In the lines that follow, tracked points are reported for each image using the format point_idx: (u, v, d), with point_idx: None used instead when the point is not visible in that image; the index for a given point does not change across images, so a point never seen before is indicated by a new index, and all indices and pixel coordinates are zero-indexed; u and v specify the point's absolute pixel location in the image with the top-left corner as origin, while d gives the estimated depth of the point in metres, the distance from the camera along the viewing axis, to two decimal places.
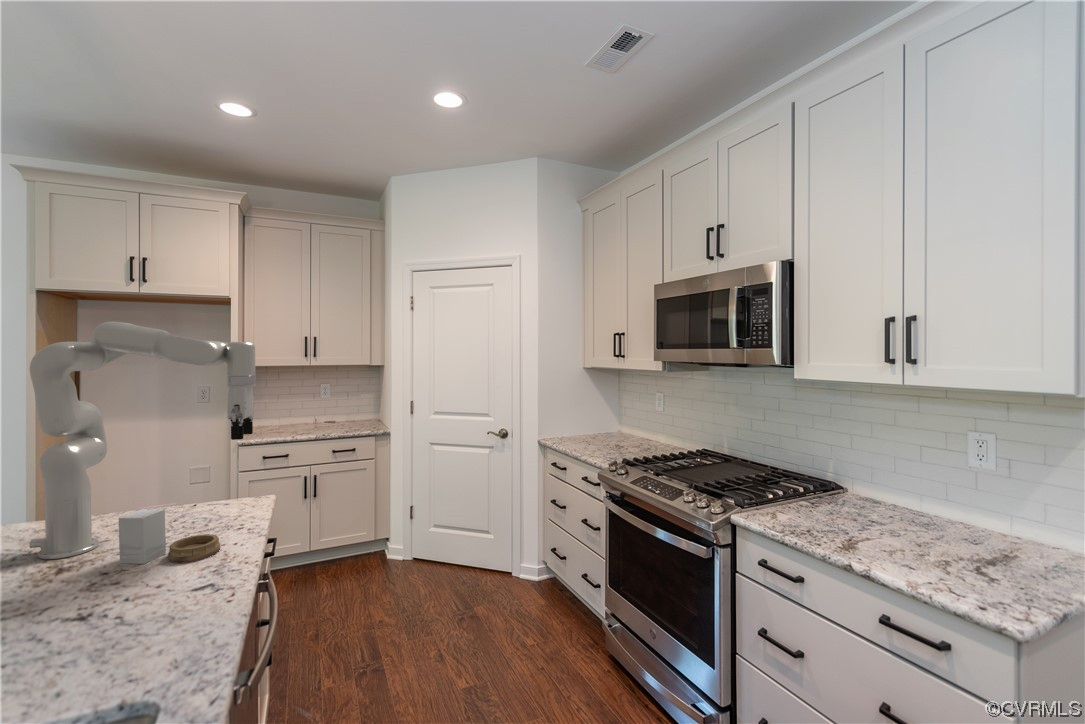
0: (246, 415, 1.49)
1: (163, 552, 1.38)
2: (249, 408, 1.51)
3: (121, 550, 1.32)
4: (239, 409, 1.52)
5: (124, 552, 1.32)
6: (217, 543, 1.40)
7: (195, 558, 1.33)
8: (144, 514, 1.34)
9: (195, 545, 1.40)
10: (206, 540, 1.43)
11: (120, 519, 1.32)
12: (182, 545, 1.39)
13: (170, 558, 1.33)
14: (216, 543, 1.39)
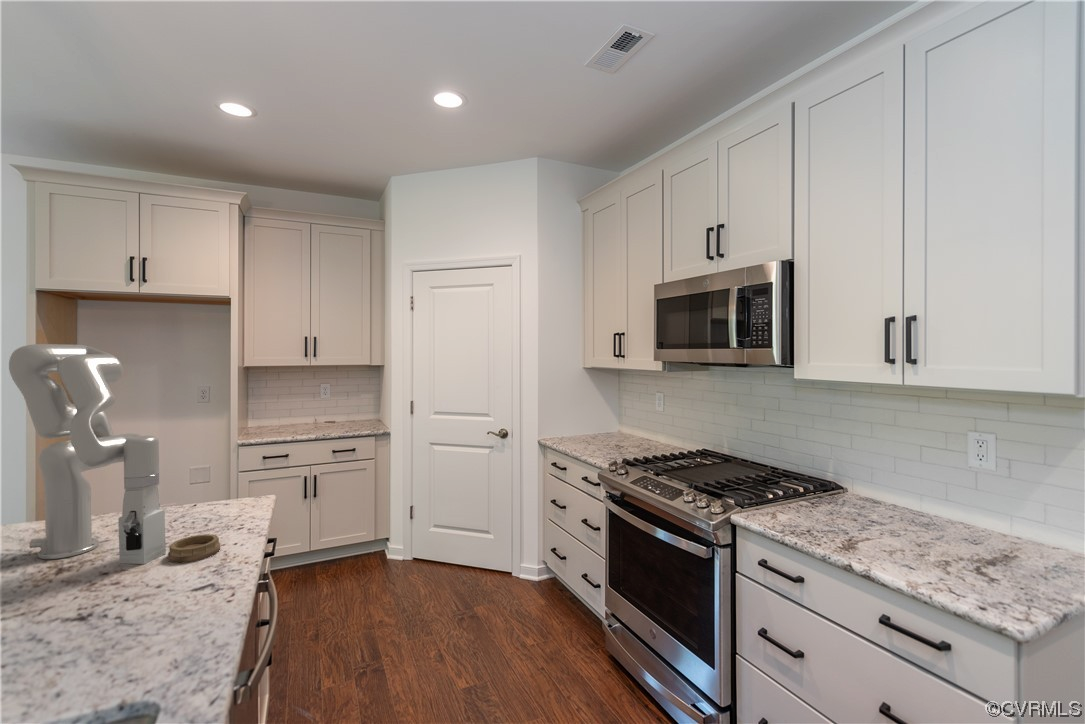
0: None
1: (163, 552, 1.38)
2: (150, 511, 1.35)
3: (121, 550, 1.32)
4: None
5: (124, 552, 1.32)
6: (217, 543, 1.40)
7: (195, 558, 1.33)
8: None
9: (195, 545, 1.40)
10: (206, 540, 1.43)
11: (120, 519, 1.32)
12: (182, 545, 1.39)
13: (170, 558, 1.33)
14: (216, 543, 1.39)
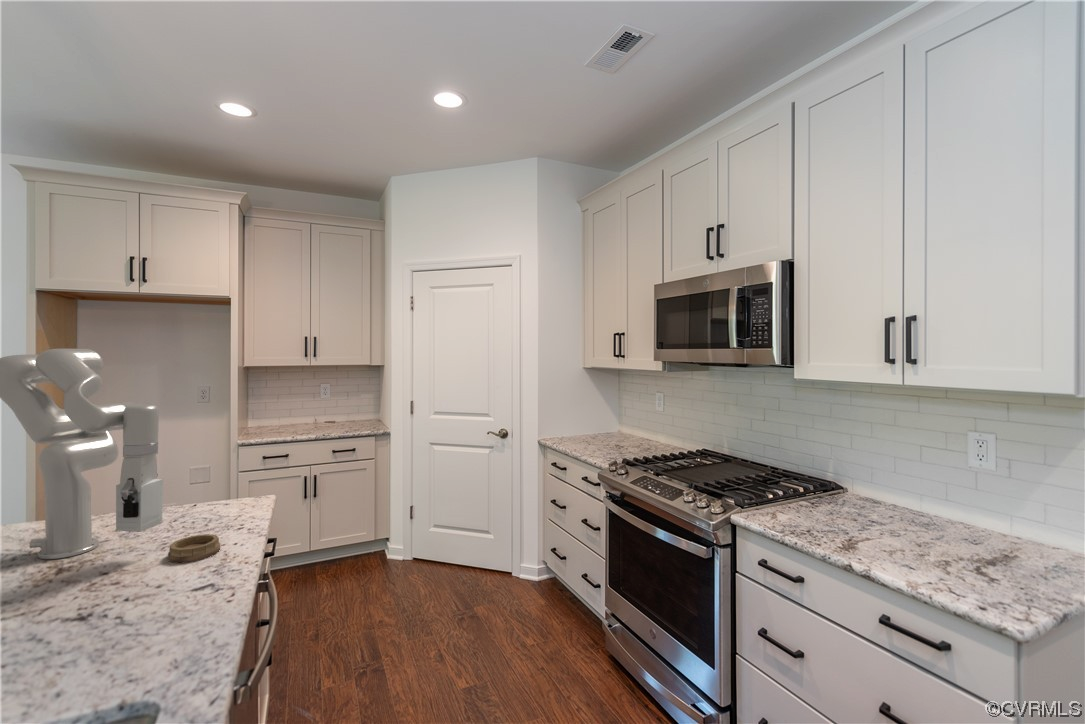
0: None
1: (160, 521, 1.38)
2: (148, 480, 1.35)
3: (118, 517, 1.32)
4: None
5: (121, 519, 1.32)
6: (217, 543, 1.40)
7: (195, 558, 1.33)
8: None
9: (195, 545, 1.40)
10: (206, 540, 1.43)
11: (118, 486, 1.32)
12: (182, 545, 1.39)
13: (170, 558, 1.33)
14: (216, 543, 1.39)
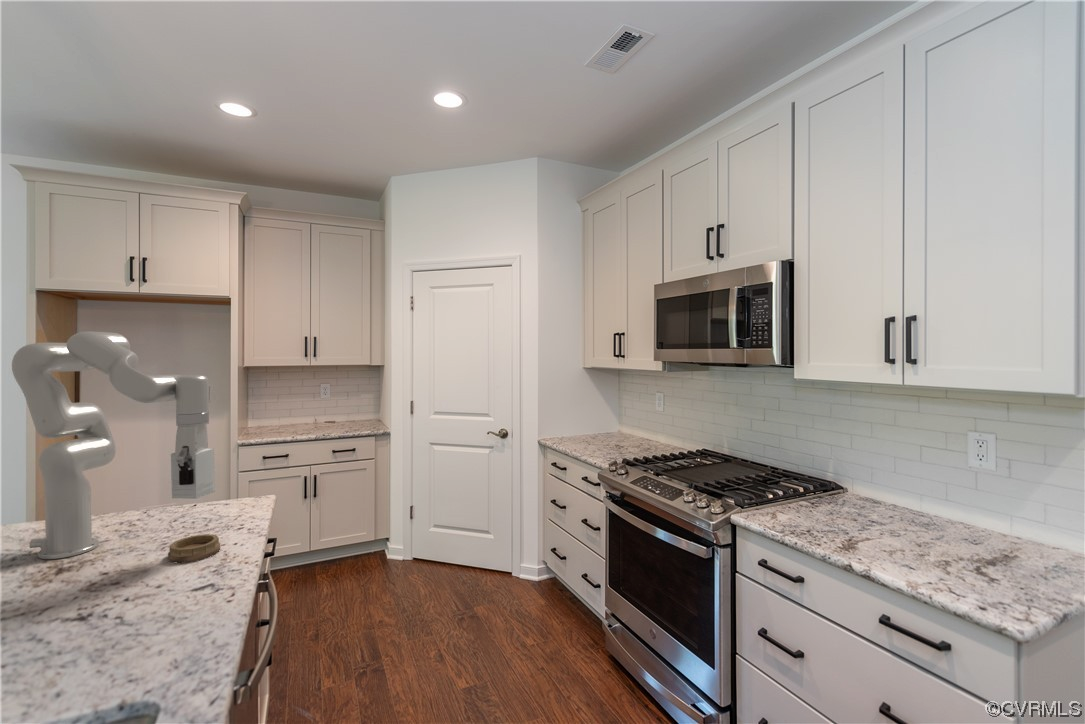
0: None
1: (213, 490, 1.40)
2: (201, 448, 1.37)
3: (173, 485, 1.34)
4: None
5: (176, 487, 1.34)
6: (217, 543, 1.40)
7: (195, 558, 1.33)
8: None
9: (195, 545, 1.40)
10: (206, 540, 1.43)
11: (172, 455, 1.34)
12: (182, 545, 1.39)
13: (170, 558, 1.33)
14: (216, 543, 1.39)
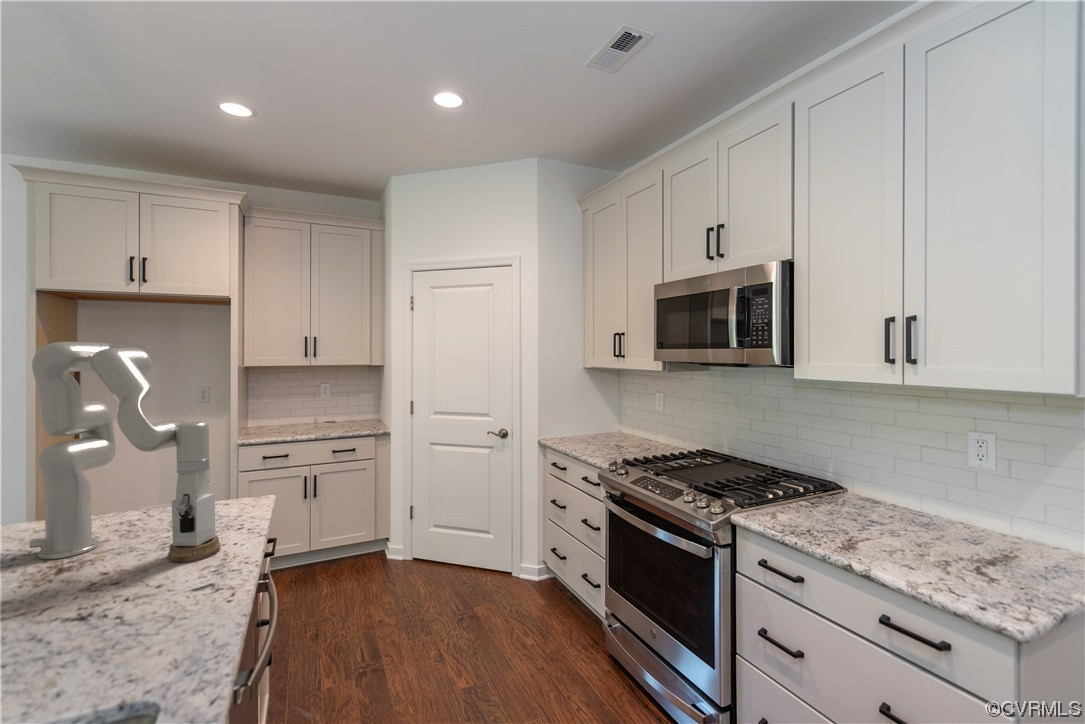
0: None
1: (213, 535, 1.41)
2: (202, 495, 1.38)
3: (174, 533, 1.35)
4: None
5: (177, 535, 1.35)
6: (217, 543, 1.40)
7: (195, 558, 1.33)
8: None
9: None
10: None
11: (173, 502, 1.35)
12: None
13: (170, 558, 1.33)
14: (216, 543, 1.39)
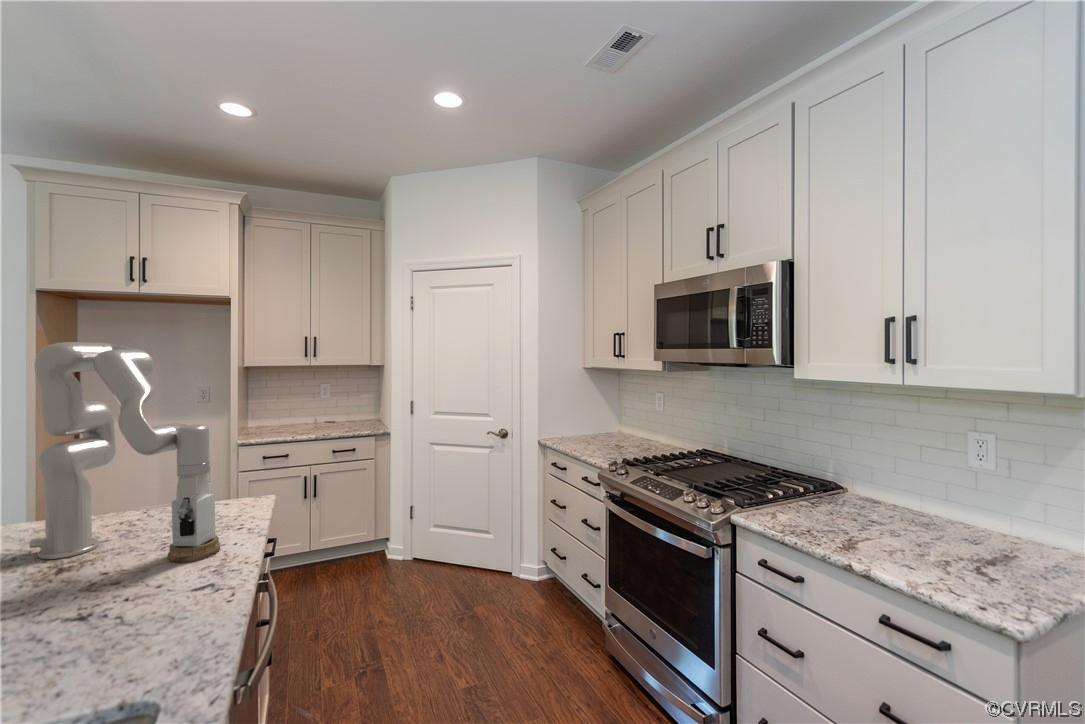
0: None
1: (213, 535, 1.41)
2: None
3: (174, 533, 1.35)
4: None
5: (177, 535, 1.35)
6: (217, 543, 1.40)
7: (195, 558, 1.33)
8: None
9: None
10: None
11: (173, 503, 1.35)
12: None
13: (170, 558, 1.33)
14: (216, 543, 1.39)
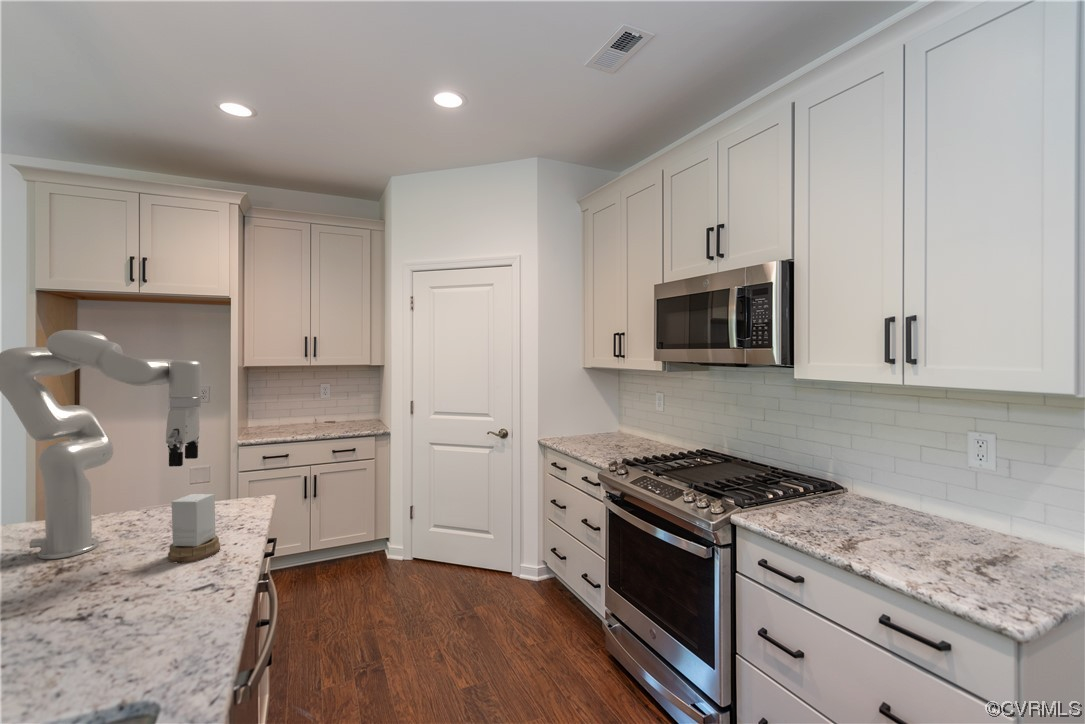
0: (187, 440, 1.39)
1: (213, 535, 1.41)
2: (192, 432, 1.41)
3: (174, 533, 1.35)
4: None
5: (177, 535, 1.35)
6: (217, 543, 1.40)
7: (195, 558, 1.33)
8: (196, 498, 1.37)
9: None
10: None
11: (173, 503, 1.35)
12: None
13: (170, 558, 1.33)
14: (216, 543, 1.39)
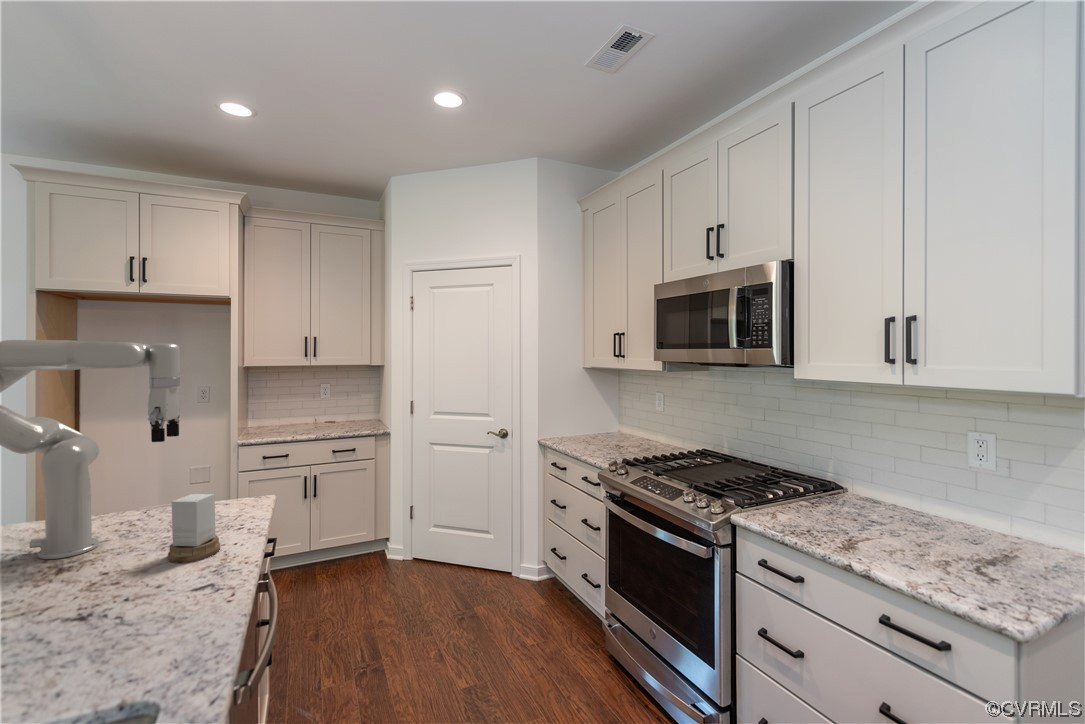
0: (168, 417, 1.48)
1: (213, 535, 1.41)
2: (172, 410, 1.50)
3: (174, 533, 1.35)
4: None
5: (177, 535, 1.35)
6: (217, 543, 1.40)
7: (195, 558, 1.33)
8: (196, 498, 1.37)
9: None
10: None
11: (173, 503, 1.35)
12: None
13: (170, 558, 1.33)
14: (216, 543, 1.39)
